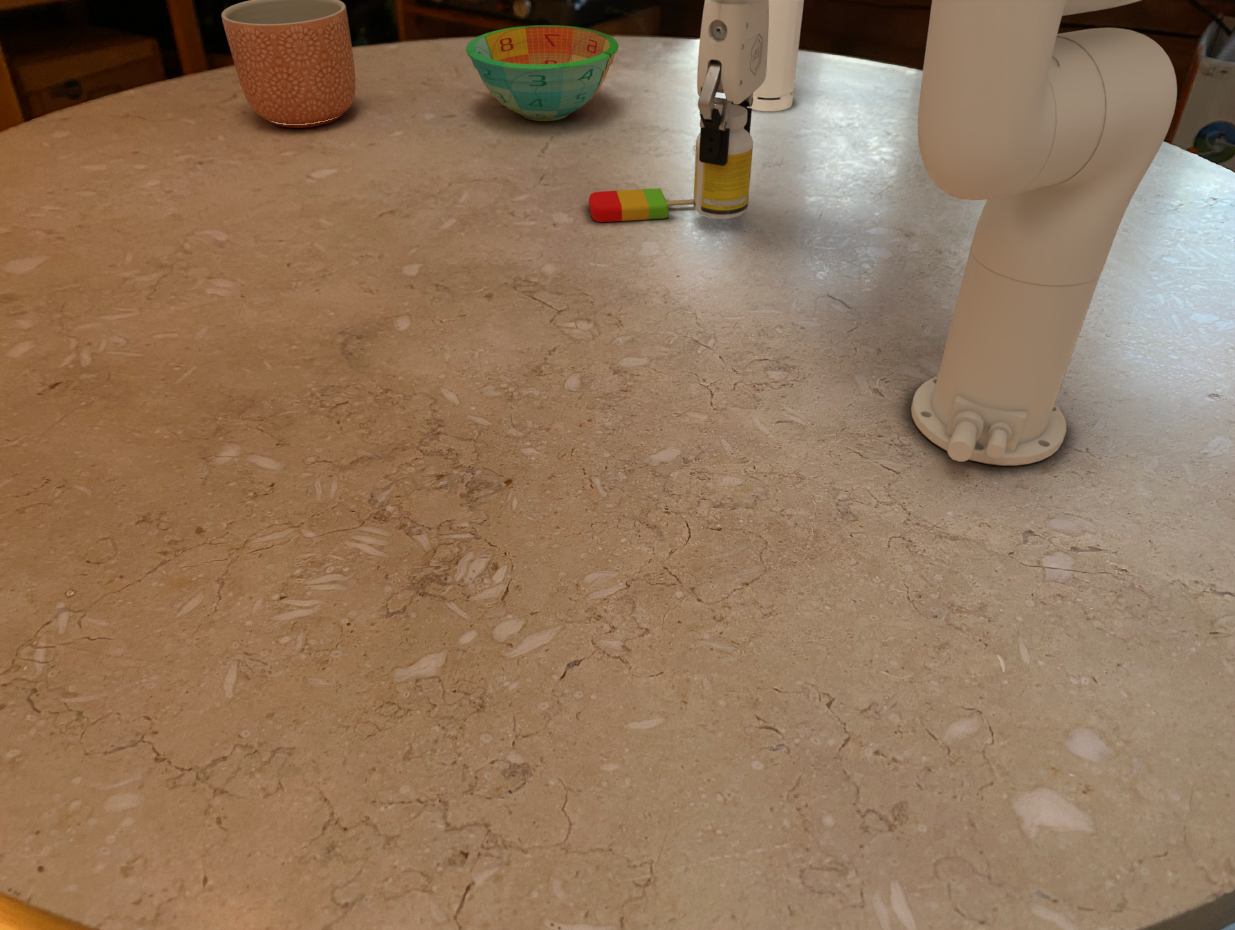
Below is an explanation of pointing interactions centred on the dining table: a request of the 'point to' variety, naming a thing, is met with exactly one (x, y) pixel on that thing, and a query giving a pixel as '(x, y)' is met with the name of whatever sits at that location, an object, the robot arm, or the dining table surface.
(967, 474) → the dining table surface
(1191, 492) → the dining table surface
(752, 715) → the dining table surface
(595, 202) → the popsicle
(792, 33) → the bottle
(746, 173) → the pill bottle
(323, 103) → the planter
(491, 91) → the bowl
